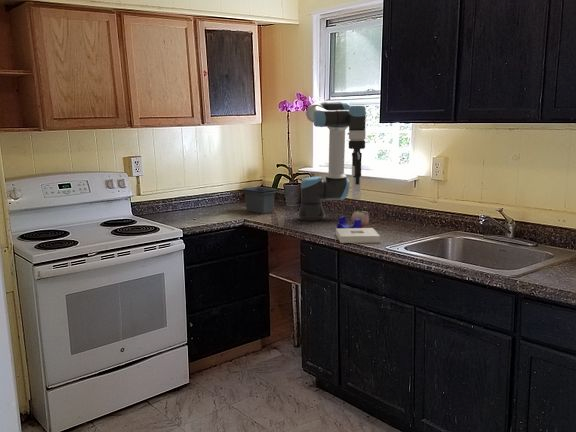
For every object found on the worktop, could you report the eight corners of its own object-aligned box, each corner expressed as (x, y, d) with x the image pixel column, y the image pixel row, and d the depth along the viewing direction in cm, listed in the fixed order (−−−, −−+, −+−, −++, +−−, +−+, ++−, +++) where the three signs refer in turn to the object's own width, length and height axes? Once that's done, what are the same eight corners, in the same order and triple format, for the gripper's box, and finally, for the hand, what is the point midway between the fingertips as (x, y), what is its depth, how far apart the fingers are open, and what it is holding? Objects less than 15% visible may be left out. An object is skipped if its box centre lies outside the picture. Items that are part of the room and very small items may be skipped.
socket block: (336, 234, 270) (336, 228, 269) (372, 234, 270) (372, 227, 270) (340, 242, 252) (340, 236, 252) (379, 242, 253) (379, 235, 252)
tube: (359, 199, 255) (359, 166, 252) (350, 198, 257) (350, 166, 254) (361, 198, 259) (362, 166, 256) (353, 197, 261) (353, 165, 258)
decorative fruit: (370, 227, 286) (370, 208, 285) (367, 230, 279) (368, 210, 277) (352, 226, 289) (352, 207, 288) (349, 229, 282) (349, 210, 280)
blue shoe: (337, 229, 284) (337, 217, 283) (343, 227, 287) (343, 216, 286) (354, 232, 275) (355, 220, 274) (360, 231, 278) (360, 219, 277)
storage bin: (240, 211, 339) (239, 187, 336) (260, 208, 349) (259, 185, 346) (261, 215, 323) (261, 191, 320) (282, 212, 333) (281, 188, 330)
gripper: (346, 139, 261) (345, 188, 266) (351, 140, 244) (350, 193, 248) (362, 139, 261) (361, 188, 266) (368, 140, 244) (367, 193, 249)
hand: (356, 190), depth 257 cm, fingers closed on tube, 4 cm apart
